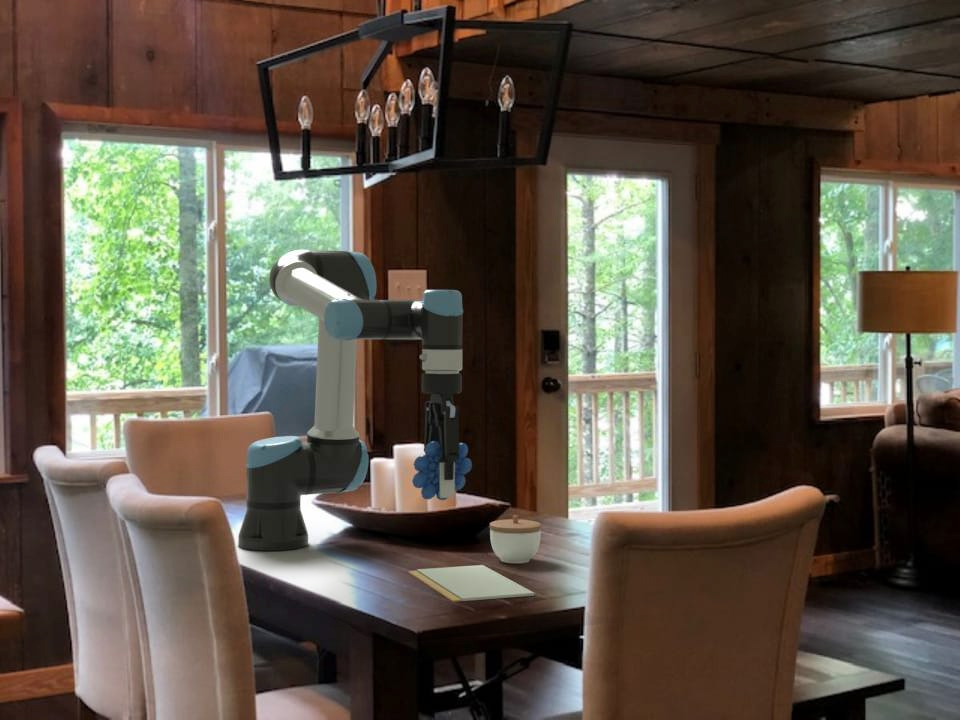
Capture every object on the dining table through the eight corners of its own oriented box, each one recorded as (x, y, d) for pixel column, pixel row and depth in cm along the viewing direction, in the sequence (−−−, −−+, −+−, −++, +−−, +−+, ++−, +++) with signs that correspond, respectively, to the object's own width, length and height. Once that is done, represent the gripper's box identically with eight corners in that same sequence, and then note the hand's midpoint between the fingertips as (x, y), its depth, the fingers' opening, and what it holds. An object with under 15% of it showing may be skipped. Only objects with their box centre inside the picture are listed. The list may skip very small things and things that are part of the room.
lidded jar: (541, 566, 254) (542, 520, 254) (489, 565, 255) (489, 519, 254) (540, 555, 265) (540, 512, 265) (489, 555, 265) (490, 511, 265)
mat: (416, 571, 247) (416, 569, 247) (482, 567, 252) (482, 565, 252) (462, 601, 223) (462, 598, 223) (534, 595, 228) (534, 592, 228)
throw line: (408, 572, 247) (408, 571, 247) (415, 572, 247) (415, 570, 247) (453, 601, 222) (453, 600, 222) (460, 601, 223) (461, 599, 223)
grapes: (463, 495, 240) (464, 433, 240) (475, 500, 234) (476, 436, 233) (405, 498, 236) (406, 435, 236) (416, 503, 230) (416, 438, 229)
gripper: (407, 369, 242) (407, 488, 243) (438, 374, 223) (437, 502, 224) (444, 369, 245) (443, 486, 245) (478, 374, 226) (477, 501, 227)
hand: (440, 494), depth 235 cm, fingers closed on grapes, 7 cm apart
